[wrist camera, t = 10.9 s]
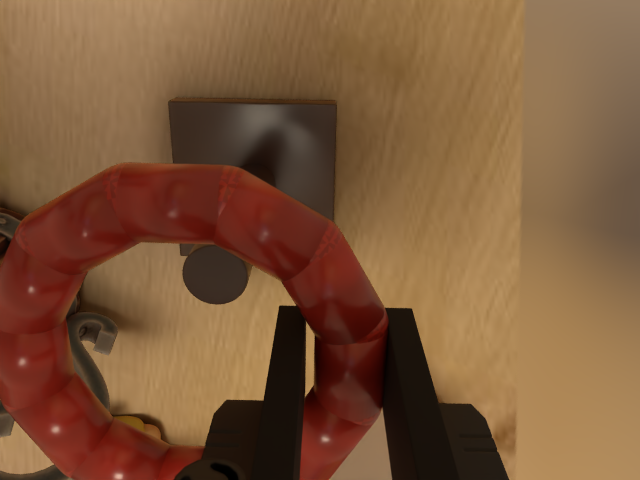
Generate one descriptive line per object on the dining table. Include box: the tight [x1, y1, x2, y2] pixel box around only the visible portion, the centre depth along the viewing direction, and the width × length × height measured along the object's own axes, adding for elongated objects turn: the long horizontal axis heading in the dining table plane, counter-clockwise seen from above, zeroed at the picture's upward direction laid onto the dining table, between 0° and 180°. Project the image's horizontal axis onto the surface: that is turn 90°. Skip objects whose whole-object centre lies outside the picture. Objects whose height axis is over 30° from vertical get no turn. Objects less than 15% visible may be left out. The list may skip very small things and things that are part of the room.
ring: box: [0, 162, 389, 480], centre depth 16 cm, size 11×11×2 cm
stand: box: [168, 97, 337, 304], centre depth 27 cm, size 9×9×14 cm
